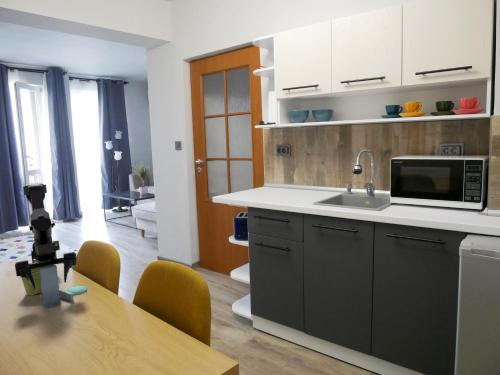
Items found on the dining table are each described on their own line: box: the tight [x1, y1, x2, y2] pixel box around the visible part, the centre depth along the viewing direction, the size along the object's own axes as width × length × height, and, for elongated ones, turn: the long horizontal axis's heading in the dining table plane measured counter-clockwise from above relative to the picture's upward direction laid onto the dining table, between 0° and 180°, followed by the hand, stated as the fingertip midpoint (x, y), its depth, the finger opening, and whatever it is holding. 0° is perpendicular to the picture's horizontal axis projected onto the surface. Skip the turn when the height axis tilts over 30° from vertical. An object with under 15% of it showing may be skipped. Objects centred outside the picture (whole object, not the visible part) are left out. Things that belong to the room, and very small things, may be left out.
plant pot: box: [19, 267, 42, 296], centre depth 139 cm, size 9×9×9 cm
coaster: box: [64, 285, 88, 296], centre depth 139 cm, size 8×8×1 cm
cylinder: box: [39, 264, 62, 308], centre depth 128 cm, size 5×5×13 cm
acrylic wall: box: [59, 288, 75, 302], centre depth 134 cm, size 12×1×2 cm, turn 56°
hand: (50, 285), depth 127 cm, fingers open, 9 cm apart
